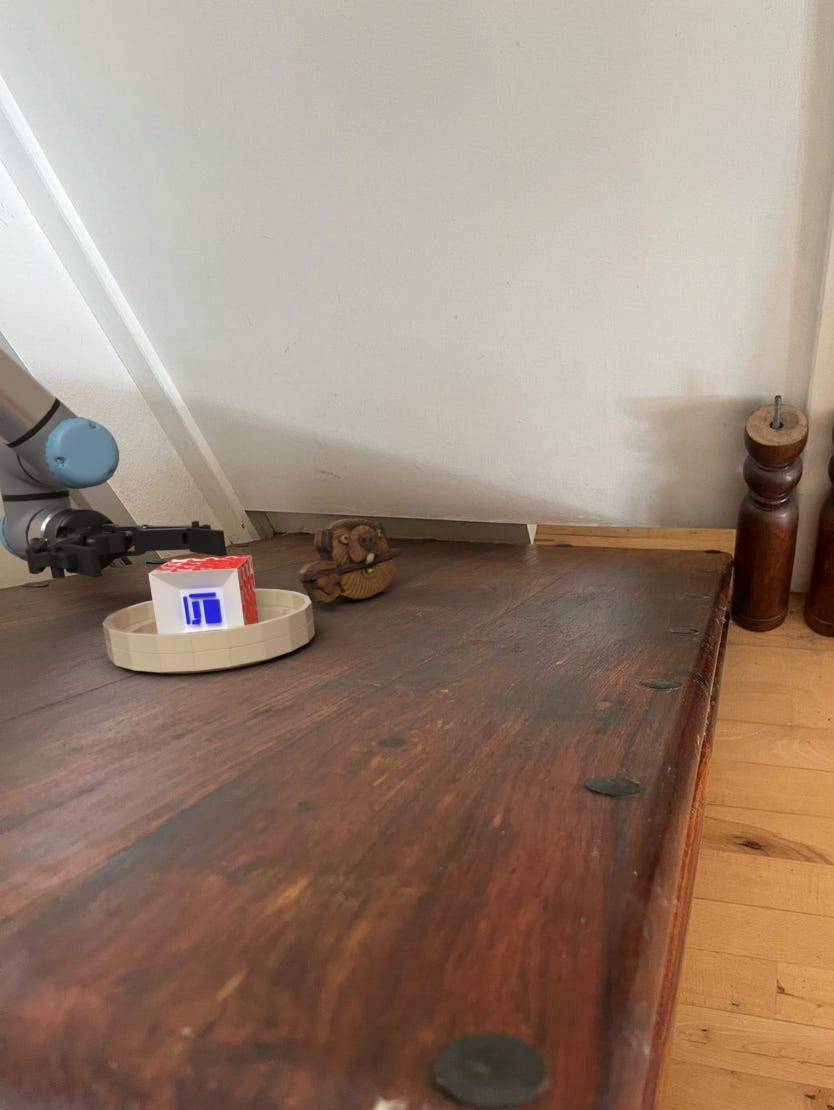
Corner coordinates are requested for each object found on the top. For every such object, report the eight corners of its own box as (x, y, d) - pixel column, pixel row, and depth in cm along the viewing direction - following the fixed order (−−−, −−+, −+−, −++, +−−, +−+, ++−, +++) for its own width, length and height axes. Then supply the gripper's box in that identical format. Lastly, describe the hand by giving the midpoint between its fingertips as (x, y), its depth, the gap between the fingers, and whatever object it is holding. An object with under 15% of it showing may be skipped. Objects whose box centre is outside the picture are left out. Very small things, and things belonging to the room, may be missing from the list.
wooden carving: (328, 616, 88) (320, 528, 85) (298, 613, 90) (289, 527, 87) (411, 588, 101) (406, 511, 99) (383, 585, 104) (377, 511, 101)
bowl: (71, 682, 68) (62, 638, 67) (160, 627, 86) (154, 592, 85) (288, 674, 67) (283, 630, 66) (330, 620, 86) (327, 585, 85)
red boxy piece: (260, 629, 81) (251, 554, 79) (247, 650, 73) (237, 568, 71) (181, 635, 80) (170, 559, 78) (160, 656, 72) (147, 573, 70)
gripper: (177, 555, 103) (270, 568, 89) (-36, 588, 85) (40, 612, 71) (168, 498, 101) (262, 503, 87) (-51, 520, 83) (24, 531, 69)
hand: (163, 552), depth 79 cm, fingers open, 13 cm apart
